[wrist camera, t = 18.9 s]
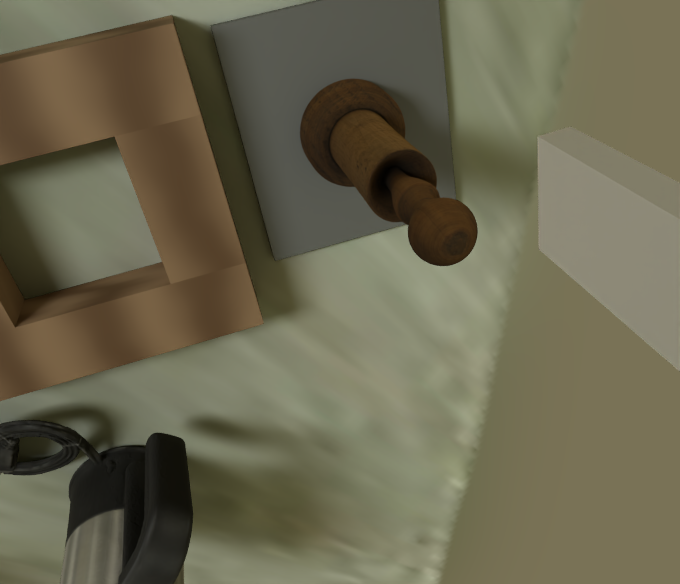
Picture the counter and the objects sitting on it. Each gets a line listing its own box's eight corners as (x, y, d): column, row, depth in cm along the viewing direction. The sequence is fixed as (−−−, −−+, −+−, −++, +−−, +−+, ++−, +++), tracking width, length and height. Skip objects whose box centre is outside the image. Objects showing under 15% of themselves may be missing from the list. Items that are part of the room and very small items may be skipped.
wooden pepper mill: (343, 55, 40) (457, 138, 25) (414, 117, 43) (555, 224, 28) (279, 141, 41) (350, 267, 26) (352, 194, 44) (453, 334, 29)
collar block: (-16, 377, 45) (-28, 409, 42) (-191, 99, 34) (-223, 115, 32) (257, 298, 47) (263, 323, 44) (171, 15, 37) (173, 23, 34)
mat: (273, 257, 46) (275, 260, 46) (210, 25, 37) (211, 26, 37) (453, 206, 48) (457, 209, 47) (432, -27, 39) (436, -27, 39)
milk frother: (178, 523, 57) (185, 691, 44) (-20, 532, 52) (-75, 724, 39) (196, 396, 50) (209, 551, 38) (-28, 392, 46) (-97, 569, 33)
